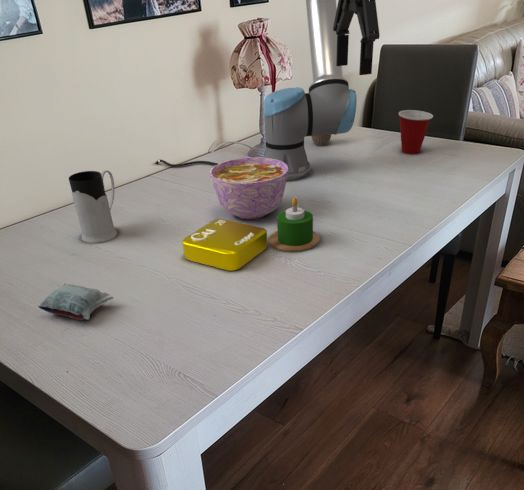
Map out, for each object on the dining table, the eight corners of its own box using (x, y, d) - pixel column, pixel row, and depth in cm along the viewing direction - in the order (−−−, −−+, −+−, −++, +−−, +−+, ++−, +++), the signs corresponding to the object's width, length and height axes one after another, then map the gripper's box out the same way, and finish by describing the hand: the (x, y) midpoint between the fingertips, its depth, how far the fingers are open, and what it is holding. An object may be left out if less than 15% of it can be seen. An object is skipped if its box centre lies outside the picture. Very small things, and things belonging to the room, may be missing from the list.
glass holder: (74, 240, 134) (57, 180, 125) (107, 218, 144) (94, 161, 135) (103, 244, 131) (88, 183, 122) (135, 221, 141) (123, 164, 133)
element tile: (234, 273, 116) (232, 252, 113) (180, 258, 123) (177, 239, 120) (270, 245, 126) (270, 226, 123) (219, 233, 133) (217, 215, 130)
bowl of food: (198, 216, 142) (192, 172, 135) (250, 193, 154) (248, 152, 147) (253, 235, 131) (250, 189, 124) (305, 209, 142) (305, 165, 135)
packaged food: (69, 294, 112) (63, 274, 109) (116, 305, 108) (110, 283, 105) (40, 316, 106) (32, 295, 103) (88, 328, 102) (81, 306, 99)
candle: (304, 228, 132) (304, 188, 126) (318, 242, 125) (318, 200, 119) (272, 234, 130) (271, 194, 124) (284, 248, 123) (283, 206, 117)
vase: (333, 141, 191) (333, 115, 186) (328, 147, 186) (329, 120, 180) (314, 141, 193) (314, 115, 188) (309, 146, 188) (309, 120, 182)
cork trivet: (258, 242, 128) (258, 240, 128) (291, 225, 135) (291, 224, 134) (296, 256, 121) (296, 254, 121) (329, 238, 128) (329, 236, 127)
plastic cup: (429, 157, 172) (434, 117, 165) (394, 156, 174) (398, 117, 167) (427, 147, 181) (432, 108, 174) (394, 146, 183) (398, 108, 176)
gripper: (320, -39, 125) (319, 63, 137) (367, -40, 105) (360, 80, 118) (350, -41, 126) (346, 60, 139) (402, -42, 107) (391, 76, 119)
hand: (353, 70), depth 128 cm, fingers open, 13 cm apart
